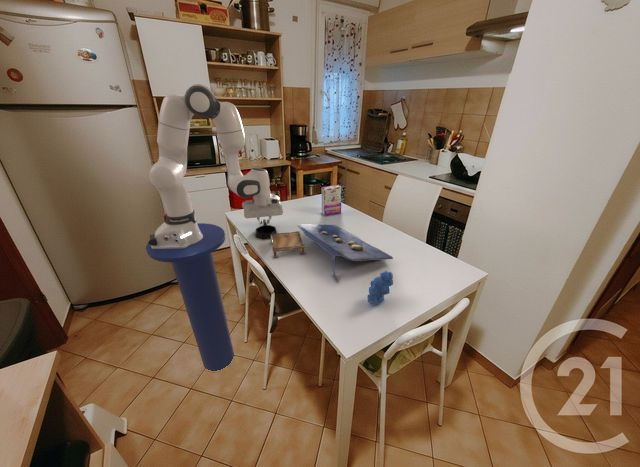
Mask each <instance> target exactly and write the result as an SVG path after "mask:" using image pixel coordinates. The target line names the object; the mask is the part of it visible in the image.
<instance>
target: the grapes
mask: <svg viewBox="0 0 640 467" xmlns="http://www.w3.org/2000/svg"><path fill="white" fill-rule="evenodd" d="M379 275H380V276H377V277H375V278H373V280H371V281H370V286H369V287H368V294H367V298H366V299H367V300H366V301H367V302H368V303H370V305H371V306H377V305H378V304H379V303H381V302H384V300H385V296H386V295H388V294H390V292H391V290H390V287H392V286H393V285H394V280H393V279H394V276H393V272H391V271H386V270H384V271H382V272H381V273H379Z"/></svg>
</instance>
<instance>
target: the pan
mask: <svg viewBox="0 0 640 467" xmlns="http://www.w3.org/2000/svg"><path fill="white" fill-rule="evenodd" d="M271 234H278V233H277V227H276V226H274V225H270V224H267V219H265V218H264V219H262V225H260V226H258V227H257V228H255V236H256V238H257V239H259V240H263V241H264V240H271V238H270V235H271ZM272 236H273V235H272Z"/></svg>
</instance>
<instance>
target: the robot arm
mask: <svg viewBox="0 0 640 467" xmlns="http://www.w3.org/2000/svg"><path fill="white" fill-rule="evenodd" d="M193 116H197V117H199V118H205V119H211V120H212V121H213V123H214V126H215V129H216V134H217V137H218V140H219V144H220V147H221V150H222V153H223V159H224V164H225V169H226V172H227V173H226V181H225V184H226V187H227V189H228V191H230V192H232V193H234V194H236V195H237V196H238V197H240V198H242V199H249V198H252V199H249V200H244V201H242V203H241V207H242V209H243V217H244V218H245V219H255V218H256V220H257V221H258V222H259V225H263V219H260V218H265V217H267V218H268V219H266V223H267V225H270V224H271V220H272V217H276V216H282V215H283V214H284V209H283V205H282V203H281V199H280V197H279V195H276V194H272V193H271V190H270V187H271V184H270V183H271V182H270V176H269V173H268V171H267V169H265V168H262V167H252V168H251V169H250V170H249V172H247V173H246V174H243V173H242V171H241V167H240V162H239V160H240V159H239V153H240V151H241V150H242V149H243V148H244V147H245V144H246V137H245V136H246V135H245V130H244V125H243V123H242V119H241V116H240V113H239V111H238V108H237V106H236V105H235V104H234V103H232V102H229V101H219V100H218V99H217V97H216V95H215V94H214V92H213V90H211V89H210V88H209V87H208V86H207V85H204V84H199V83H197V84H193V85H191V86H189V87H188V89H187V90H186V91H185V94H184V95H183V96H182V95H181V96H180V95H176V94H168V95H166V96H164V97H163V99H162V102H161V106H160V110H159V115H158V122H157V123H158V124H157V135H156V143H157V146H158V159H157V161H156V162H155V163H154V164H152V166H151V167H150V169H149V172H148V179H149V181H150V183H151V185H153V186H154V187H155V188H156V190H157V191H158V194H159V196H160V197H161V200H162V203H163V206H164V209H165V211H164V213H163V216H162V221H163V223H161V224H160V225H159V226H158V227H157V228H156V230H155V232H154V233H153V234H150V235H149V241H148V242H149V244H150V245H151V248H152V249H182V248H186V247H188V246H189V245H192V244H194V243H196V242H198V241H200V240H201V239H202V238H203V235H202V233H201V231H200V229H199V227H198V225H197V223H198V222H197V214H196V212H195V209H194V207H193V203H192V199H191V195H190V193H189V192H188V190H187V189H186V186H185V184H184V180H183V179H184V177H185V176H186V174H187V169H188V145H189V139H190V138H189V137H190V130H191V122H192V118H193Z"/></svg>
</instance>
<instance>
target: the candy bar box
mask: <svg viewBox="0 0 640 467" xmlns="http://www.w3.org/2000/svg"><path fill="white" fill-rule="evenodd" d="M342 192H343V187H342V186H341V185H339V184H336V185H328V186H322V187H321V214H322V215H323V216H324V217H326V216H332V215H337V214H341V213H342V195H343V194H342Z"/></svg>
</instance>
